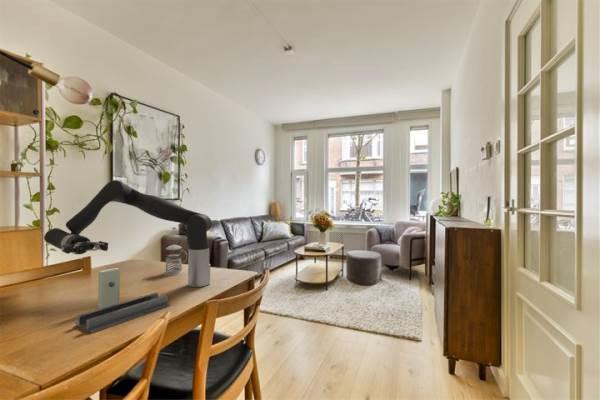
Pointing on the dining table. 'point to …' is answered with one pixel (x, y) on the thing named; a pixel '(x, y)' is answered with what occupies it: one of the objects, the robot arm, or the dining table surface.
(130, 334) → the dining table surface
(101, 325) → the track
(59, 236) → the robot arm
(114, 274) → the door panel
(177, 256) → the french press
